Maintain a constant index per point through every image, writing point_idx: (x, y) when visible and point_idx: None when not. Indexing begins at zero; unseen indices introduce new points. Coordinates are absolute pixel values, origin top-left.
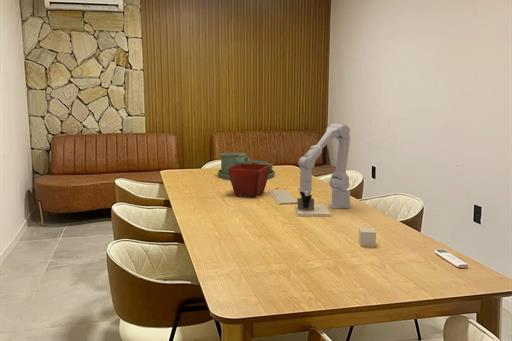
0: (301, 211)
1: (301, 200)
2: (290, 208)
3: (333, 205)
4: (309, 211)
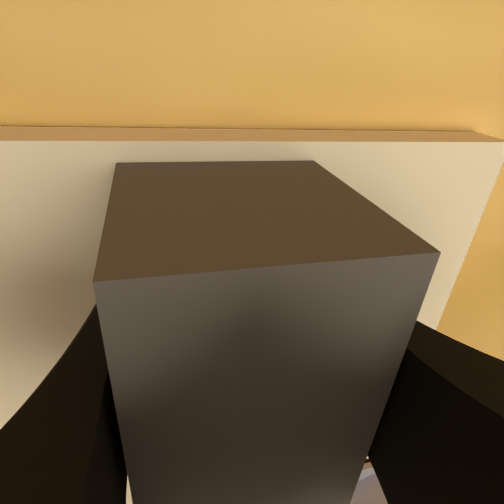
0: (7, 226)
1: (111, 375)
2: (440, 32)
3: (364, 488)
4: (49, 349)
